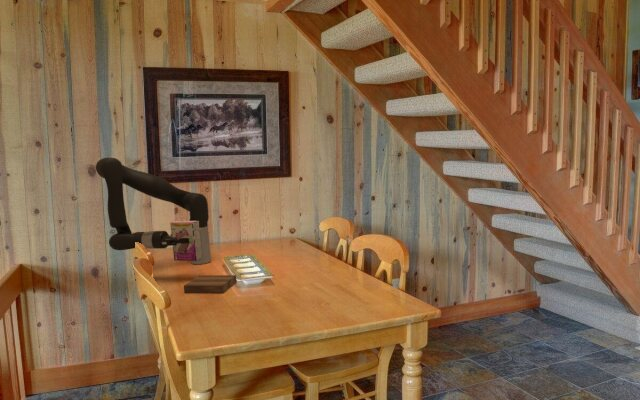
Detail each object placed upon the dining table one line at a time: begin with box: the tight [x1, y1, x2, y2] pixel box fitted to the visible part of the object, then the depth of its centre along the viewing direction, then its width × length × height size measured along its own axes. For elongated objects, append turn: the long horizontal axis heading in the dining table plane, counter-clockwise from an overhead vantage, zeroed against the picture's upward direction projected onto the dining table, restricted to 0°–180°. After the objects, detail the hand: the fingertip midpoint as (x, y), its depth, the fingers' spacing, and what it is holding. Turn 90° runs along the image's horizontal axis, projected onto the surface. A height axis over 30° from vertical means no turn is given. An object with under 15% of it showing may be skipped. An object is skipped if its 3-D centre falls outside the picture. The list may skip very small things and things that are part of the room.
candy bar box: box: [170, 220, 202, 262], centre depth 224 cm, size 11×5×16 cm, turn 71°
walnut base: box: [183, 274, 237, 294], centre depth 211 cm, size 14×16×3 cm
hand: (191, 239), depth 223 cm, fingers closed on candy bar box, 5 cm apart
